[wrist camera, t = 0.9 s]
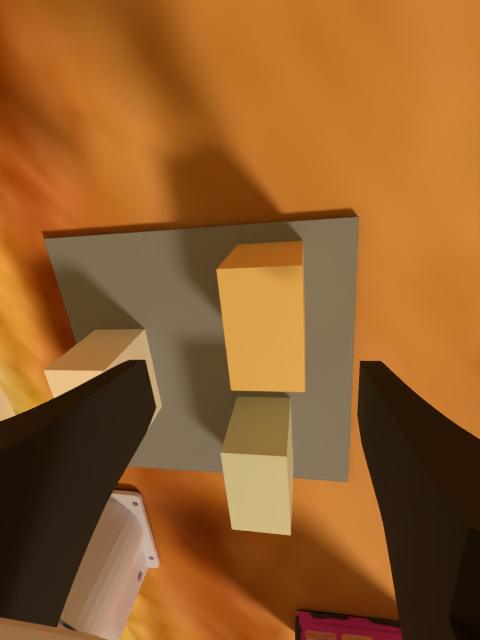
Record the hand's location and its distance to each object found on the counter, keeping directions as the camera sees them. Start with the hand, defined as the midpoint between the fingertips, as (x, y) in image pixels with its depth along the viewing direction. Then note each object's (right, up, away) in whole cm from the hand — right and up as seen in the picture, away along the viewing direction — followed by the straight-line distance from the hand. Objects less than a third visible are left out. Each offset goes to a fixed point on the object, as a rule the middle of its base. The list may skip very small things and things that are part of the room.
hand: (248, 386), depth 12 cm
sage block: (+2, -6, +12) cm, 13 cm away
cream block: (-8, -1, +12) cm, 14 cm away
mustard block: (+2, +4, +8) cm, 9 cm away
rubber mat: (-2, -1, +11) cm, 12 cm away
